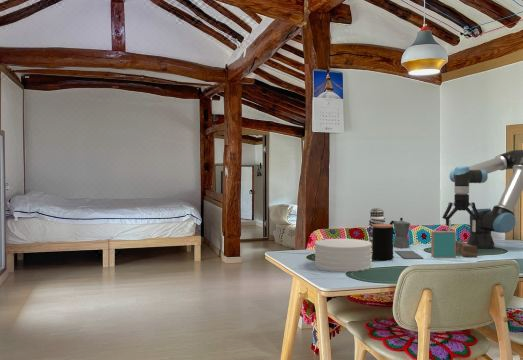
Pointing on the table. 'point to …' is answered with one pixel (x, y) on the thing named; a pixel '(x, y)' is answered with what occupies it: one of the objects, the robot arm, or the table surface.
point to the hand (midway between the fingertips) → (461, 231)
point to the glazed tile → (443, 244)
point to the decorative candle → (375, 220)
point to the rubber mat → (409, 255)
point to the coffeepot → (401, 233)
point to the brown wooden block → (466, 249)
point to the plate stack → (343, 254)
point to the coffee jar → (382, 241)
